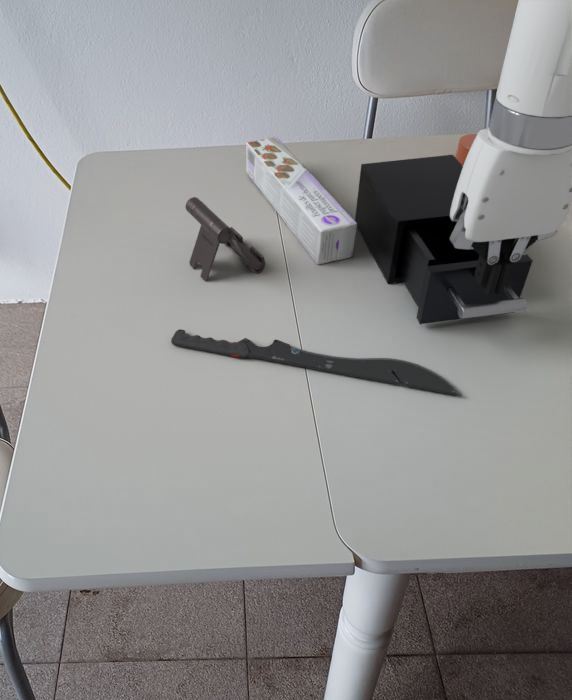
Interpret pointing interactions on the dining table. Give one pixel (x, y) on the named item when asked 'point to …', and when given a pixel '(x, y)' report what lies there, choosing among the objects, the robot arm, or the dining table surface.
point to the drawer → (452, 277)
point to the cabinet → (402, 203)
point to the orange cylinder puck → (464, 147)
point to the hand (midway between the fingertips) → (488, 286)
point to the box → (301, 201)
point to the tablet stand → (218, 240)
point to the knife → (324, 362)
